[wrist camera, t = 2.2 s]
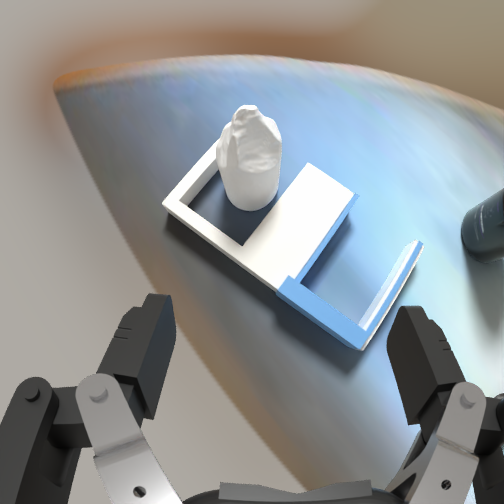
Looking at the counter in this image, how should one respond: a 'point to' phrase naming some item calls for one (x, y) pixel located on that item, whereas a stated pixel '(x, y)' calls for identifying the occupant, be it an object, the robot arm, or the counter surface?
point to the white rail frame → (295, 245)
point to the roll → (250, 158)
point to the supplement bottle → (485, 229)
